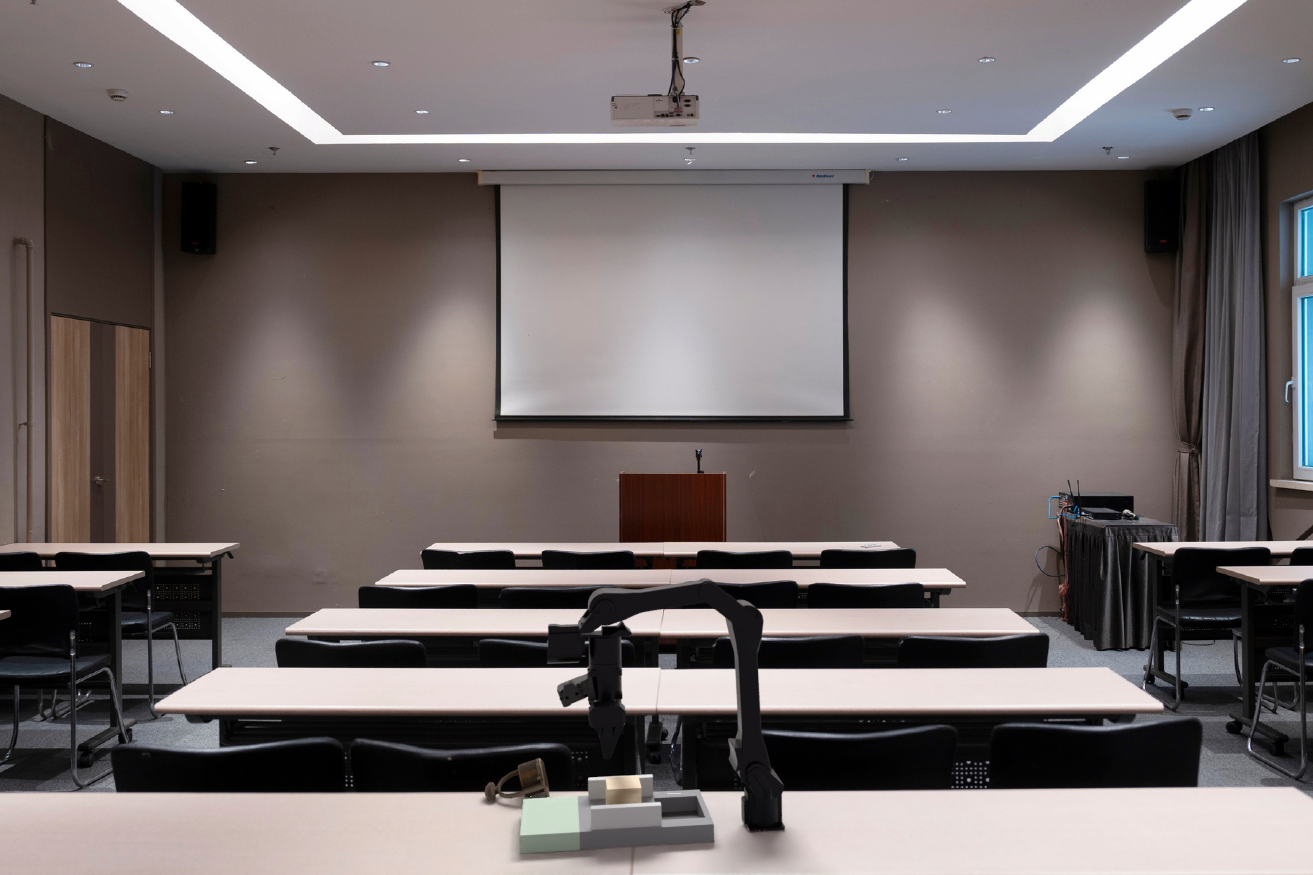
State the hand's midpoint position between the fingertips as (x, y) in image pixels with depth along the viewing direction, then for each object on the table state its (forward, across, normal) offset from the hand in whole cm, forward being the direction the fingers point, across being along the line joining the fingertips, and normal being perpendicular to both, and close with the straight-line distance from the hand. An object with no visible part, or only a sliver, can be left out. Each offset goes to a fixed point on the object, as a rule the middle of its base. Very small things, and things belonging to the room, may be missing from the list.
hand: (606, 750), depth 157 cm
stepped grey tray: (+14, -2, +2) cm, 15 cm away
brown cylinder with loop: (+15, -20, -17) cm, 30 cm away
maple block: (+12, -2, +3) cm, 12 cm away
